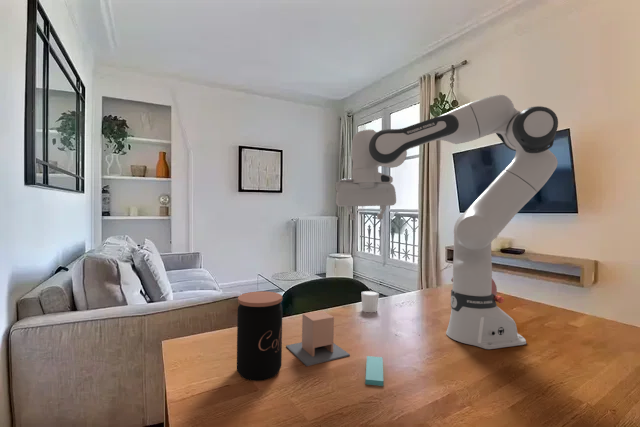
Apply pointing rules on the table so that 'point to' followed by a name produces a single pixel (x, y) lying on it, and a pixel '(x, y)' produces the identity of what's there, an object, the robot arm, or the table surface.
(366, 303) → the white cylinder
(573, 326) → the table surface
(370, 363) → the stick
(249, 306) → the coffee jar
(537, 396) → the table surface
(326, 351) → the pad
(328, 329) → the cover
